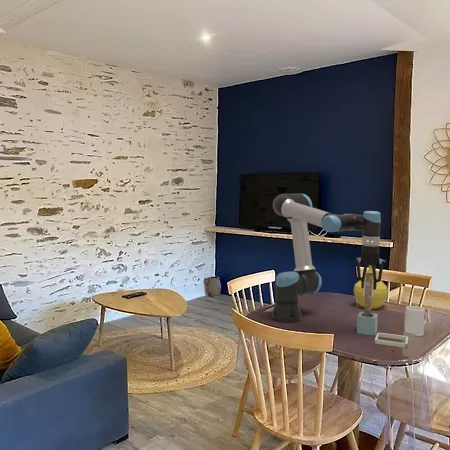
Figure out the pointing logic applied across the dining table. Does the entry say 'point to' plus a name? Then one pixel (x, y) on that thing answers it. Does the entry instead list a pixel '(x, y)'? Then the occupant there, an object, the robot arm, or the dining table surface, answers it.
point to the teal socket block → (367, 324)
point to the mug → (415, 320)
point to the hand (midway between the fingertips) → (368, 295)
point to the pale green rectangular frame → (391, 341)
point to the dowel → (368, 294)
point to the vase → (379, 293)
